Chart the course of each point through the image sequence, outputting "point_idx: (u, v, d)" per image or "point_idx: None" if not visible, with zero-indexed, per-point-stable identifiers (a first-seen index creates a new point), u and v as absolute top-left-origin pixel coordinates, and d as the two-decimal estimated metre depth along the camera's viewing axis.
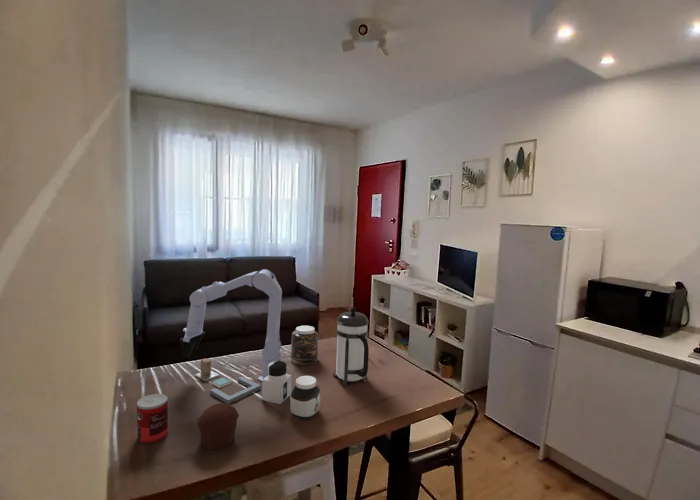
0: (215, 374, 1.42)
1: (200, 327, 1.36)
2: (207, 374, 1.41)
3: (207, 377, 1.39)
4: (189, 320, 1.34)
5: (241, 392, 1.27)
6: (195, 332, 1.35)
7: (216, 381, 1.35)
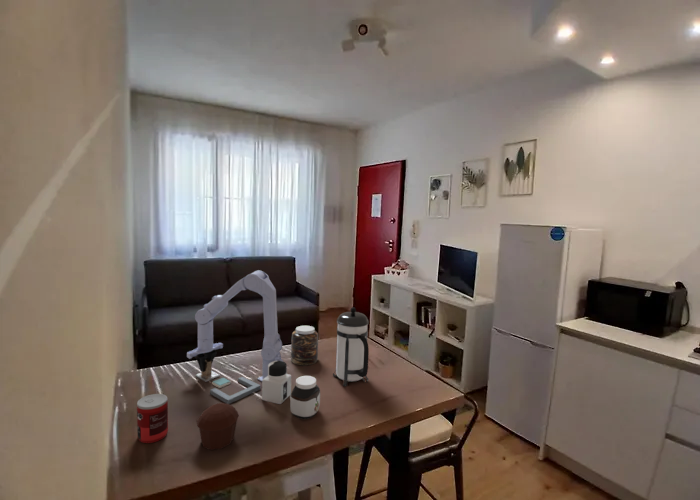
0: (216, 374, 1.41)
1: (206, 345, 1.38)
2: (208, 374, 1.40)
3: (208, 377, 1.39)
4: None
5: (241, 392, 1.27)
6: (201, 349, 1.38)
7: (216, 381, 1.35)
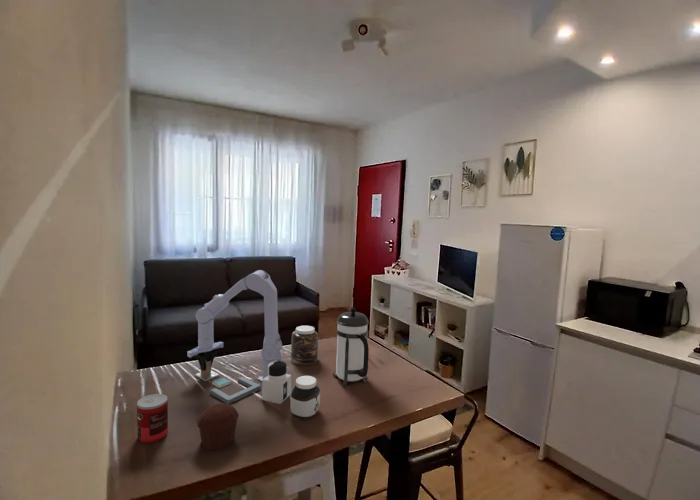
0: (215, 374, 1.42)
1: (206, 344, 1.38)
2: (207, 374, 1.40)
3: (207, 377, 1.39)
4: (198, 336, 1.40)
5: (241, 392, 1.27)
6: (202, 348, 1.38)
7: (216, 381, 1.35)
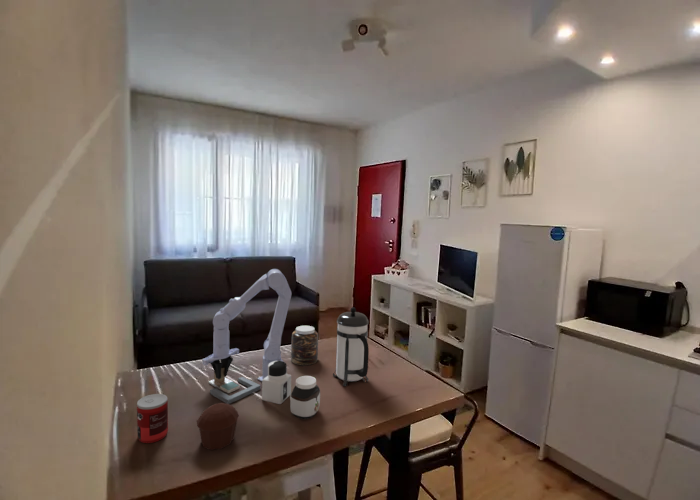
0: (229, 381, 1.36)
1: (222, 351, 1.32)
2: (221, 381, 1.35)
3: (221, 384, 1.33)
4: None
5: (241, 392, 1.27)
6: (217, 356, 1.32)
7: (224, 385, 1.32)
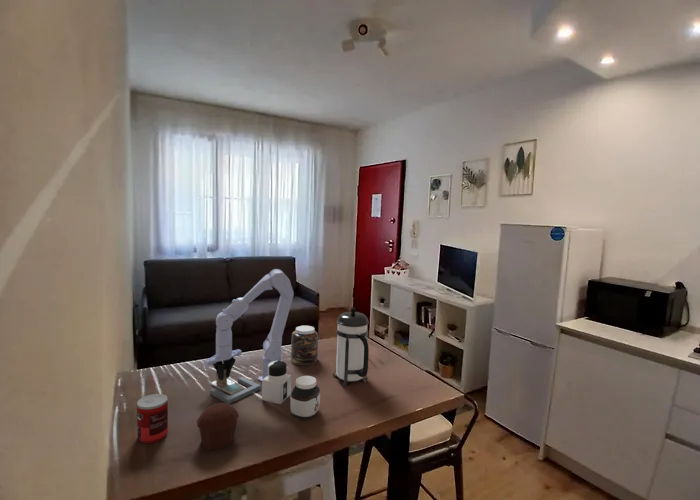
0: (231, 382, 1.35)
1: (225, 352, 1.31)
2: (223, 382, 1.34)
3: (223, 385, 1.33)
4: (216, 344, 1.32)
5: (241, 392, 1.27)
6: (220, 357, 1.31)
7: (227, 387, 1.31)
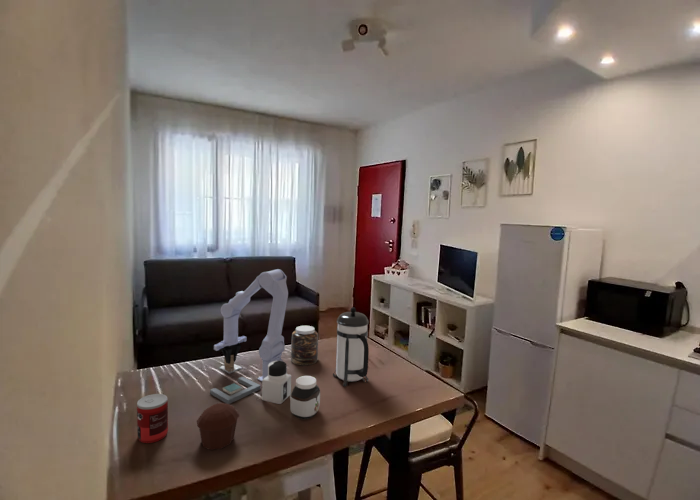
0: (238, 367, 1.49)
1: (231, 338, 1.45)
2: (231, 367, 1.48)
3: (231, 369, 1.46)
4: None
5: (241, 392, 1.27)
6: (227, 342, 1.45)
7: (227, 387, 1.31)
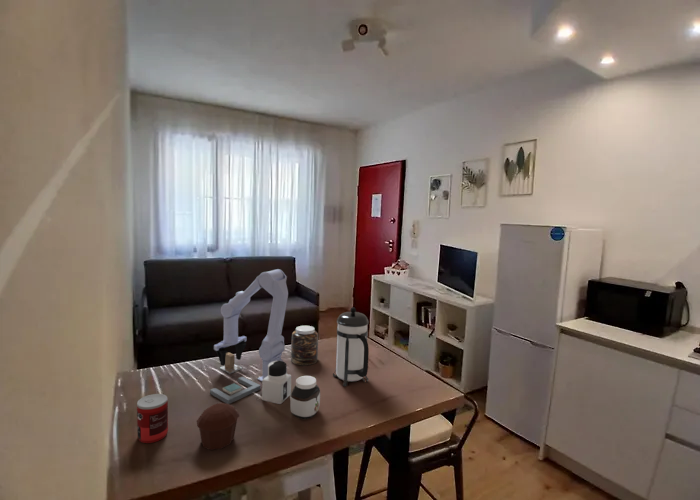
0: (238, 367, 1.49)
1: (231, 338, 1.45)
2: (231, 367, 1.48)
3: (231, 370, 1.46)
4: None
5: (241, 392, 1.27)
6: (227, 342, 1.45)
7: (227, 387, 1.31)
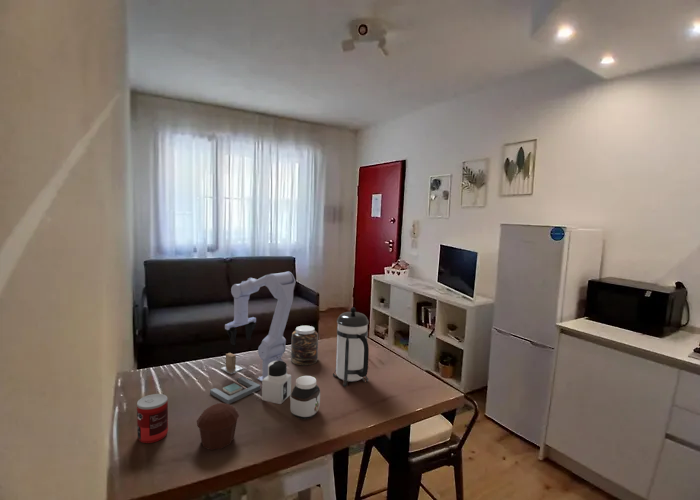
0: (240, 368, 1.48)
1: (242, 318, 1.48)
2: (232, 368, 1.47)
3: (232, 370, 1.46)
4: (234, 311, 1.50)
5: (241, 392, 1.27)
6: (237, 322, 1.48)
7: (227, 387, 1.31)
